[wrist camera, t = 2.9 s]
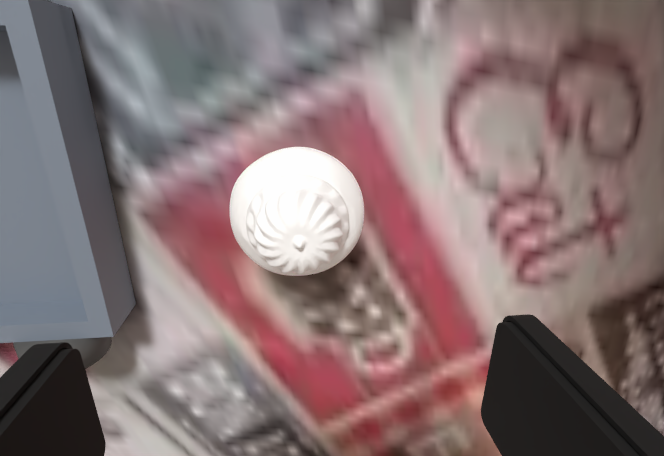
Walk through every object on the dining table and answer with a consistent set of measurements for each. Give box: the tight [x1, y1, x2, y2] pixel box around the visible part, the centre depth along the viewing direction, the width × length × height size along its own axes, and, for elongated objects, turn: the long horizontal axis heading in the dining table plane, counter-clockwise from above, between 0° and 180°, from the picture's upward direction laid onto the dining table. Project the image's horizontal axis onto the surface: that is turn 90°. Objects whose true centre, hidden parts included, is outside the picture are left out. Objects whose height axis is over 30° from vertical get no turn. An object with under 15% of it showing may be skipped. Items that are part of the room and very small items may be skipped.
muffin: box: [230, 147, 364, 276], centre depth 17 cm, size 6×6×7 cm
